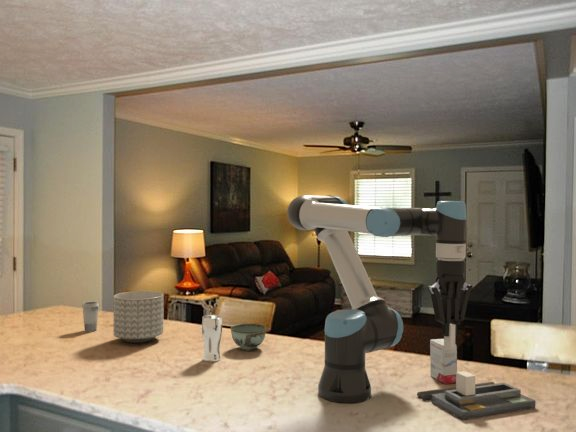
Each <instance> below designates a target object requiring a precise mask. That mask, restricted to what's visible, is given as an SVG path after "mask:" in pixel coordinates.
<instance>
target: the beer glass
mask: <svg viewBox="0 0 576 432" xmlns="http://www.w3.org/2000/svg"><path fill="white" fill-rule="evenodd" d="M222 323H223V321H222V316H221V315H219V314H205V315H203V316H202V322H201V337H202V342H203V357H202V360H203V361H204V362H206V363H215V362H218V361H220V360H221V359H222V357H221V352H220V345H221V340H222V335H223V334H222V333H223V324H222Z"/></svg>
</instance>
